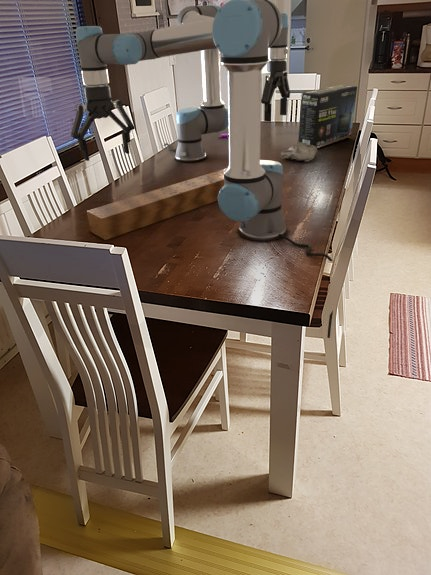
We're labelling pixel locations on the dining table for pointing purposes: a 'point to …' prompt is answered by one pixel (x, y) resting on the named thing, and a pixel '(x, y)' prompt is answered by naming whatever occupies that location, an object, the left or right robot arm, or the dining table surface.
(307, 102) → the router box
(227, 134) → the handgun
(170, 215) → the wooden beam
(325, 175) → the dining table surface
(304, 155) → the fossil
